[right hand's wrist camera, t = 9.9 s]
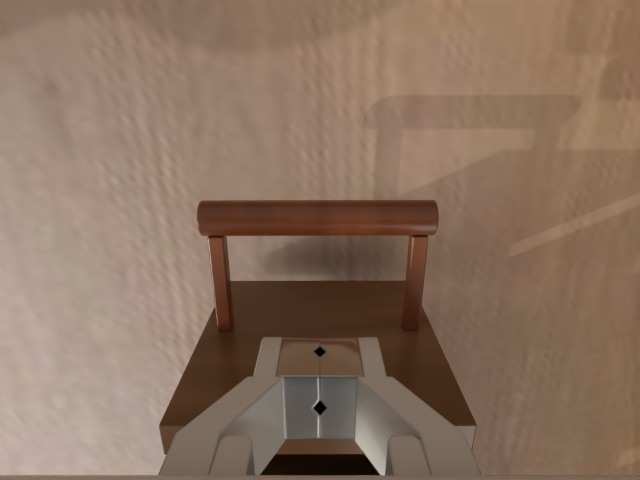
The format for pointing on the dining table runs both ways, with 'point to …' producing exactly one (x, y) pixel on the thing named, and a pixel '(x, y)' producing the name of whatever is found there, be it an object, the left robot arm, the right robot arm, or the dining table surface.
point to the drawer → (316, 319)
